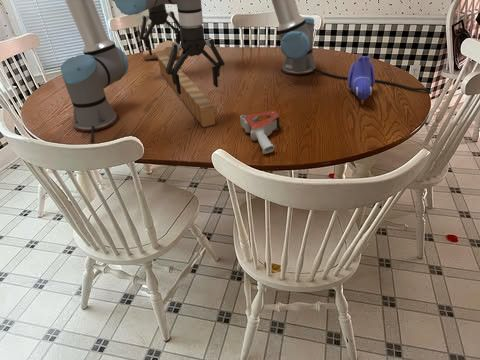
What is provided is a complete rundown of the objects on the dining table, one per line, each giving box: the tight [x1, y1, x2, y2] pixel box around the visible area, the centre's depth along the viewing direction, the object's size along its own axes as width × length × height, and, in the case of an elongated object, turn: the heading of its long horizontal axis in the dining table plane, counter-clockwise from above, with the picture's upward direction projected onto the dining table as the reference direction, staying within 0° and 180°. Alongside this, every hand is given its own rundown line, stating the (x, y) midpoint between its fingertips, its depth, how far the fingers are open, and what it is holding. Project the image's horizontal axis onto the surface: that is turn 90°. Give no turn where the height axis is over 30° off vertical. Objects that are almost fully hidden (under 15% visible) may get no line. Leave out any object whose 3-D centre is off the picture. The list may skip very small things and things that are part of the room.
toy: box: [347, 55, 376, 106], centre depth 135 cm, size 10×17×25 cm
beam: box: [157, 55, 216, 128], centre depth 149 cm, size 67×5×7 cm, turn 23°
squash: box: [142, 39, 180, 61], centre depth 190 cm, size 11×20×9 cm, turn 92°
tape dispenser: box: [239, 110, 280, 155], centre depth 117 cm, size 18×5×20 cm
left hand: (197, 89), depth 125 cm, fingers open, 13 cm apart
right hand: (165, 52), depth 165 cm, fingers open, 13 cm apart
